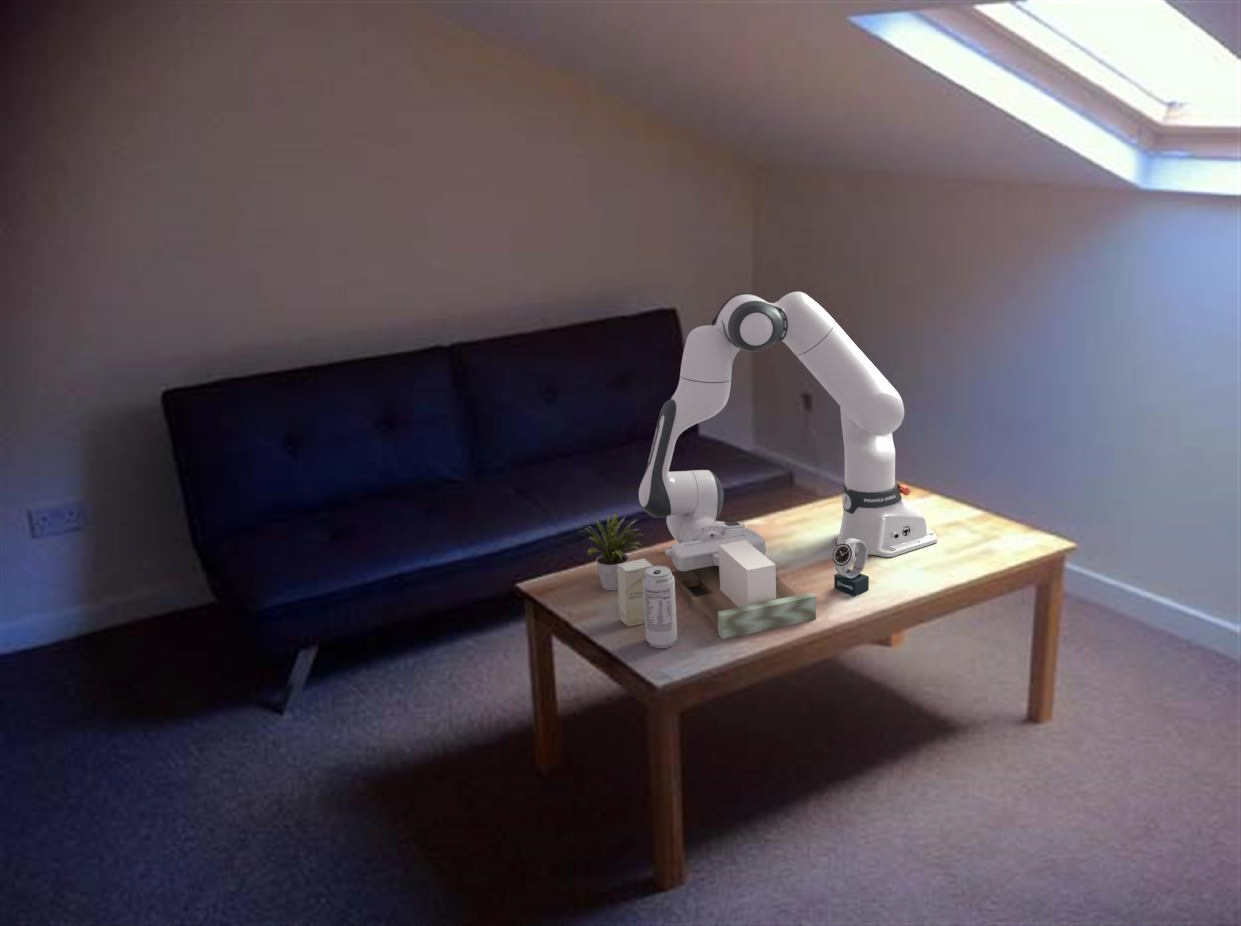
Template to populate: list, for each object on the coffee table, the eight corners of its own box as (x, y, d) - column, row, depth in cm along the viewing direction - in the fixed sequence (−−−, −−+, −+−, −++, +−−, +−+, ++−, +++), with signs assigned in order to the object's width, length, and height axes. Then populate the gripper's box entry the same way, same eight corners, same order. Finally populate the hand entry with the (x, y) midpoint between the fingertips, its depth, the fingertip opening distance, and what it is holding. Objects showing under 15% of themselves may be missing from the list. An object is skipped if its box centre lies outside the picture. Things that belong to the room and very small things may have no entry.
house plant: (605, 608, 230) (600, 534, 225) (565, 588, 240) (559, 518, 235) (657, 586, 238) (653, 515, 233) (616, 568, 249) (612, 500, 243)
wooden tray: (751, 564, 247) (750, 543, 245) (815, 619, 219) (815, 596, 218) (666, 580, 241) (665, 559, 239) (722, 639, 214) (721, 615, 212)
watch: (827, 591, 231) (827, 542, 228) (853, 579, 236) (853, 531, 232) (848, 599, 227) (849, 549, 223) (874, 587, 232) (875, 538, 228)
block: (746, 584, 232) (745, 539, 229) (776, 611, 219) (775, 564, 216) (720, 589, 230) (718, 545, 227) (748, 617, 218) (747, 570, 215)
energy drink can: (681, 636, 216) (678, 565, 211) (671, 651, 210) (667, 578, 206) (652, 633, 218) (648, 562, 213) (641, 647, 213) (637, 575, 208)
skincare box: (628, 627, 221) (624, 571, 217) (619, 619, 225) (615, 563, 221) (656, 620, 223) (653, 564, 219) (647, 612, 227) (644, 557, 223)
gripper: (661, 536, 238) (685, 559, 226) (748, 520, 244) (776, 542, 232) (662, 563, 240) (686, 587, 228) (749, 546, 246) (777, 569, 234)
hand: (732, 564), depth 230 cm, fingers closed, pressing on block
